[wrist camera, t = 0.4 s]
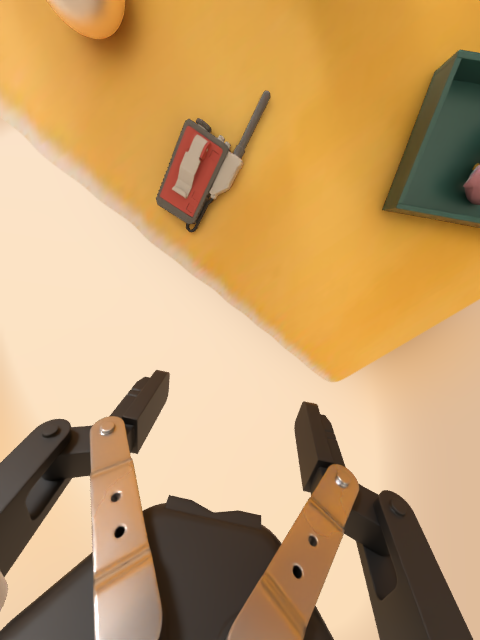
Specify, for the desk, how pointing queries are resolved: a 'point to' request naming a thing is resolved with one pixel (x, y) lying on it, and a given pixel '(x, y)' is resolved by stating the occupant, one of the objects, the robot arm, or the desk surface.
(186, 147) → the walkie-talkie
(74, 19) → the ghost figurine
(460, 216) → the tray
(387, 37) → the desk surface
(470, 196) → the video game controller
